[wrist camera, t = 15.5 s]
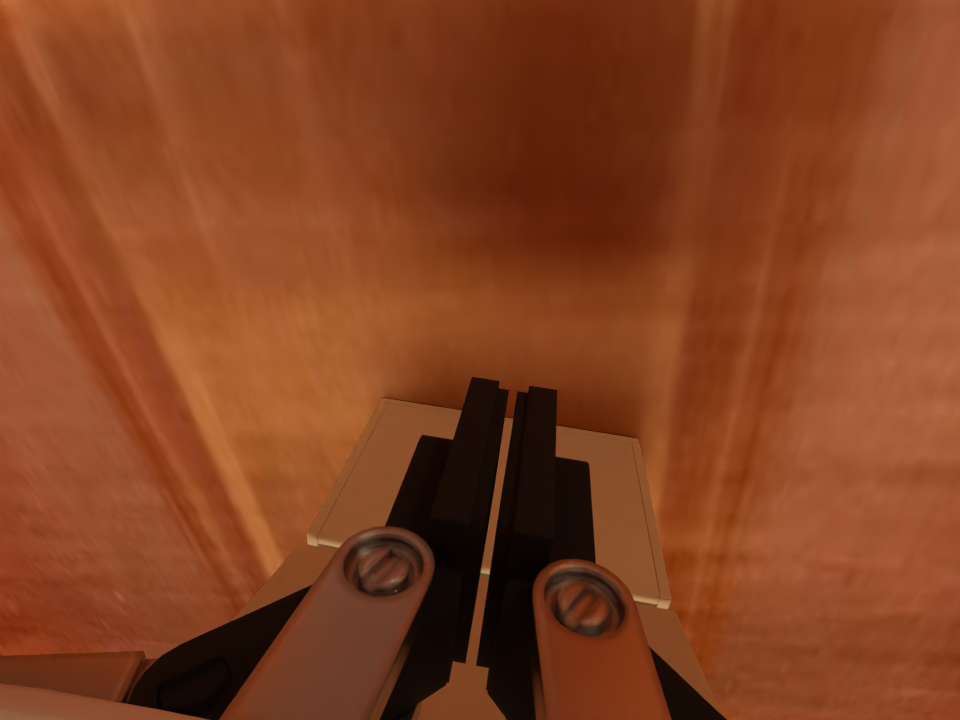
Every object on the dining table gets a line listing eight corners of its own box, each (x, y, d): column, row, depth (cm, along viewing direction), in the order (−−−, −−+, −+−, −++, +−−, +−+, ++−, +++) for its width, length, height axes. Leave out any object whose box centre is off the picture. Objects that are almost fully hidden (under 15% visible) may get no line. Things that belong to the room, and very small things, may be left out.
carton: (382, 397, 28) (297, 551, 19) (639, 438, 27) (676, 619, 18) (376, 618, 36) (314, 801, 27) (575, 656, 35) (580, 857, 26)
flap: (299, 553, 19) (300, 542, 19) (673, 621, 18) (675, 610, 18) (130, 749, 11) (131, 731, 11) (788, 887, 10) (792, 869, 10)
